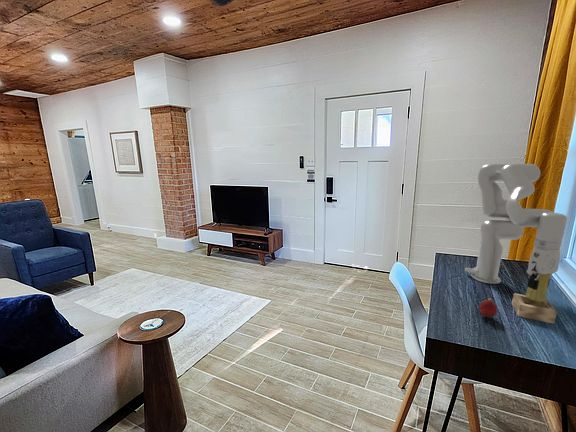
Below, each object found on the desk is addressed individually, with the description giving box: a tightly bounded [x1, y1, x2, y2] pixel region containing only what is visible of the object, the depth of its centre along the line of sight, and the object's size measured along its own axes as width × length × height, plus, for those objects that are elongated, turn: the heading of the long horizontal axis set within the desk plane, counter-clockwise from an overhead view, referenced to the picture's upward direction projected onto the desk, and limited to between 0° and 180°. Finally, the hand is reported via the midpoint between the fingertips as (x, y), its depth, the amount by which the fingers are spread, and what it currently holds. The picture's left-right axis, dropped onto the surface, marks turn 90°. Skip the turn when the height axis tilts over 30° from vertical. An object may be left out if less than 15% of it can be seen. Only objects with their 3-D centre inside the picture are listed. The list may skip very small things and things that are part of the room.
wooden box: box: [511, 292, 558, 325], centre depth 113 cm, size 11×11×5 cm
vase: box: [525, 270, 550, 302], centre depth 110 cm, size 6×6×14 cm
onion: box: [478, 298, 498, 318], centre depth 109 cm, size 6×6×8 cm
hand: (537, 286), depth 111 cm, fingers closed on vase, 5 cm apart
